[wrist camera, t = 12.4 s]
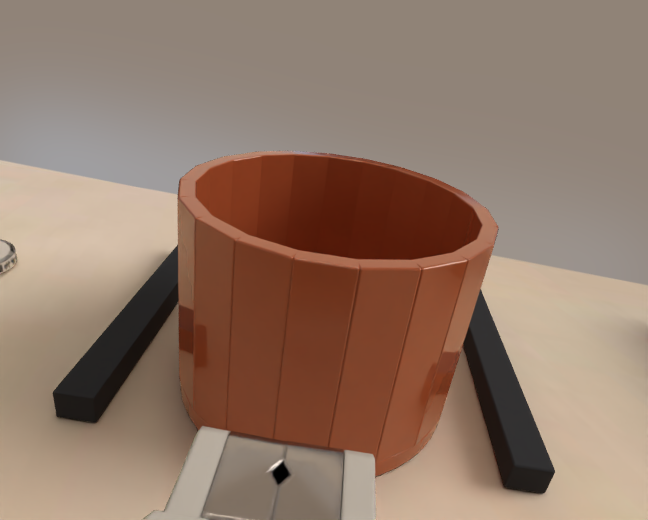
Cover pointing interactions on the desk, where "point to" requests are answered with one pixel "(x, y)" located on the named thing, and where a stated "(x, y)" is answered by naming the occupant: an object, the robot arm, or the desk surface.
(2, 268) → the grey flat disc
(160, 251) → the desk surface
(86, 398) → the bay
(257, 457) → the robot arm
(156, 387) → the desk surface
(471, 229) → the cup
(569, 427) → the desk surface
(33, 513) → the desk surface
